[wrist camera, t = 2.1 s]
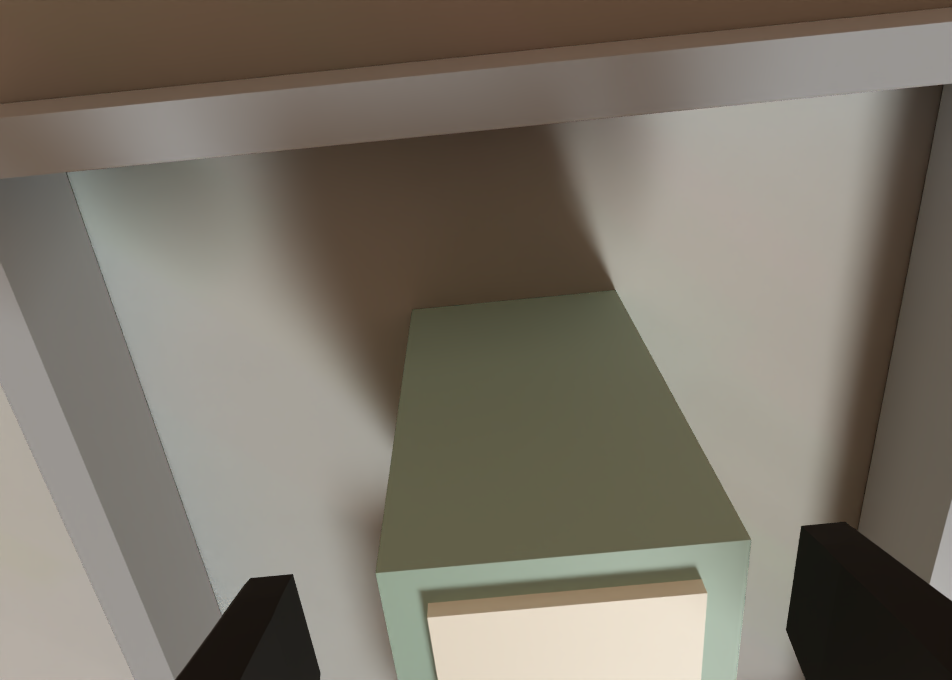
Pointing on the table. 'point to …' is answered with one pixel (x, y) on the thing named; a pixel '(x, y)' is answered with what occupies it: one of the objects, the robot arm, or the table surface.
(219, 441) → the table surface
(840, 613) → the robot arm
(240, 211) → the table surface
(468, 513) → the labelled box
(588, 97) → the parts bin
